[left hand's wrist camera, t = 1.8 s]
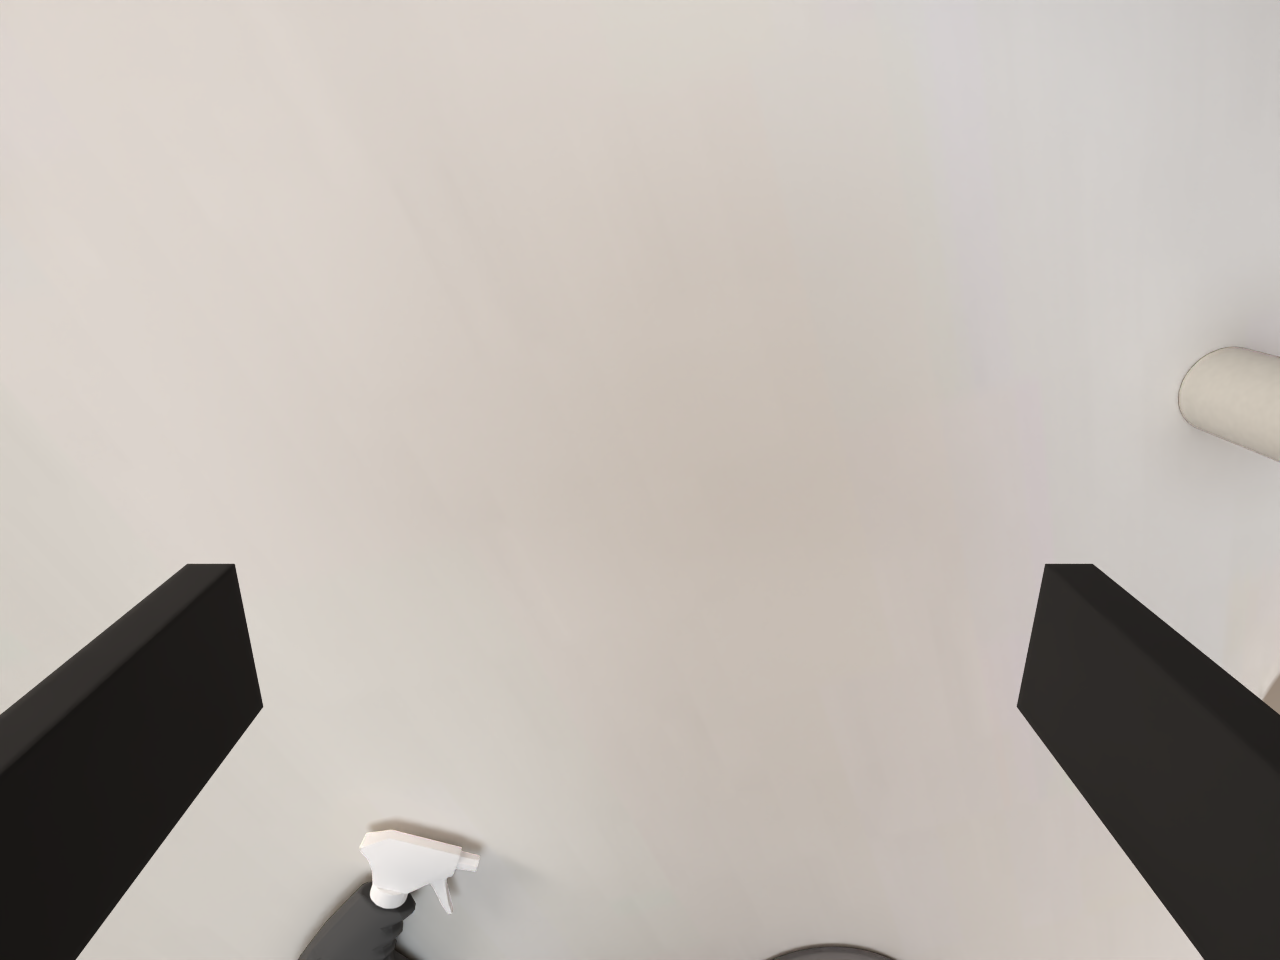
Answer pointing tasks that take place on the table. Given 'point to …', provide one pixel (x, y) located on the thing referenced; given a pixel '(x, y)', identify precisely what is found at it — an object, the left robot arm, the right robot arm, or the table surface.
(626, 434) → the table surface
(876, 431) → the table surface
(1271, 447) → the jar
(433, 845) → the spray bottle
